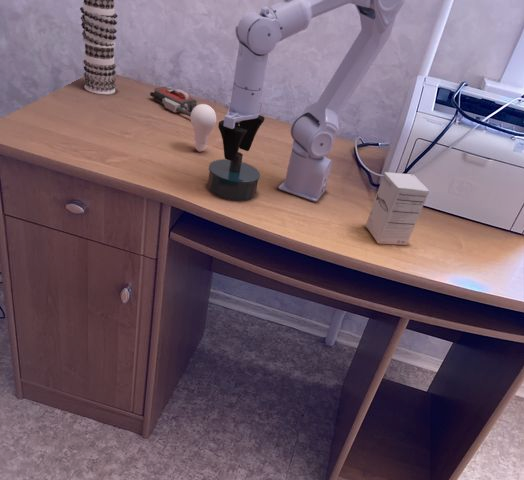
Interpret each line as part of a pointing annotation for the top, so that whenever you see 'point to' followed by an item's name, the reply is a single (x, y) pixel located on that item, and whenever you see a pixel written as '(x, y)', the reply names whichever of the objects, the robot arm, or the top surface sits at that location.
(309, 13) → the robot arm
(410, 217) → the white packaging box
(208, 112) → the lightbulb
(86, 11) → the decorative candle
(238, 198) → the dark bowl
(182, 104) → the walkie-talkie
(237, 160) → the pan lid
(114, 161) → the top surface
